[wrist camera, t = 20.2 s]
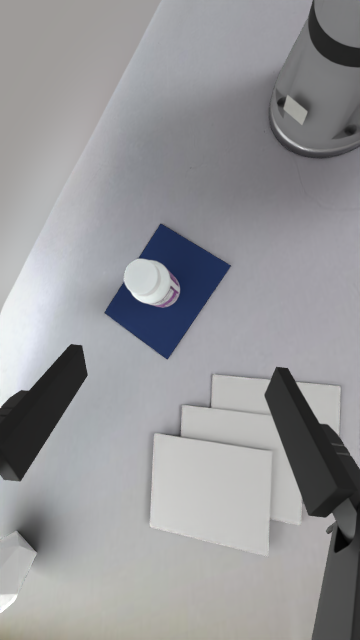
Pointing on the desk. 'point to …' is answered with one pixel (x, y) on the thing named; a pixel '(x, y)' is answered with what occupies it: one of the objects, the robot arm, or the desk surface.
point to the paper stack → (231, 466)
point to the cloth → (195, 289)
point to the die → (13, 566)
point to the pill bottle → (151, 283)
